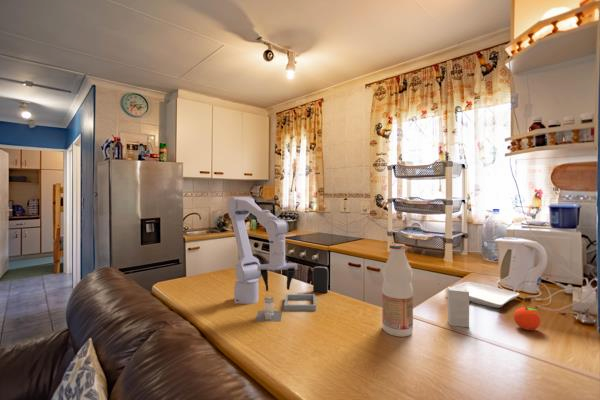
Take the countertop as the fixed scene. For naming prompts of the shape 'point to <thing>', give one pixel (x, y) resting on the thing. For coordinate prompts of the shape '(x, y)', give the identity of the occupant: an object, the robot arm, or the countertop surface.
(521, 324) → the red tomato
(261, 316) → the plate
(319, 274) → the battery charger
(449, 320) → the skincare box
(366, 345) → the countertop surface
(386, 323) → the fruit juice
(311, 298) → the parts tray
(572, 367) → the countertop surface
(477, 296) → the salad plate
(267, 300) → the cylinder
